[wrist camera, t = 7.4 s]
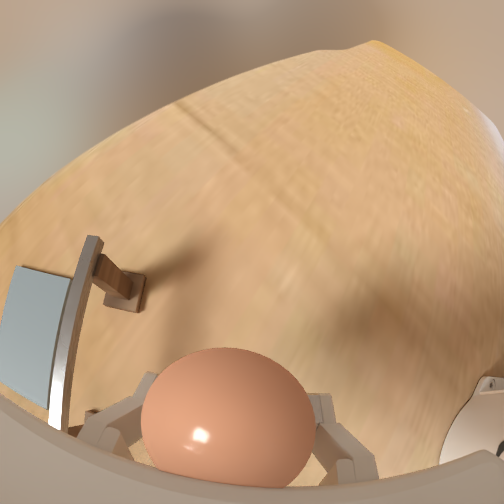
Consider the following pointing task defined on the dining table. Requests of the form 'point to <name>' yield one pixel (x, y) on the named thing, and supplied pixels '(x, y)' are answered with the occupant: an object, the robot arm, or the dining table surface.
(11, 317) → the pad
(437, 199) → the dining table surface
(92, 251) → the metal bar
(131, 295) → the hurdle posts
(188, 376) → the terracotta cylinder
